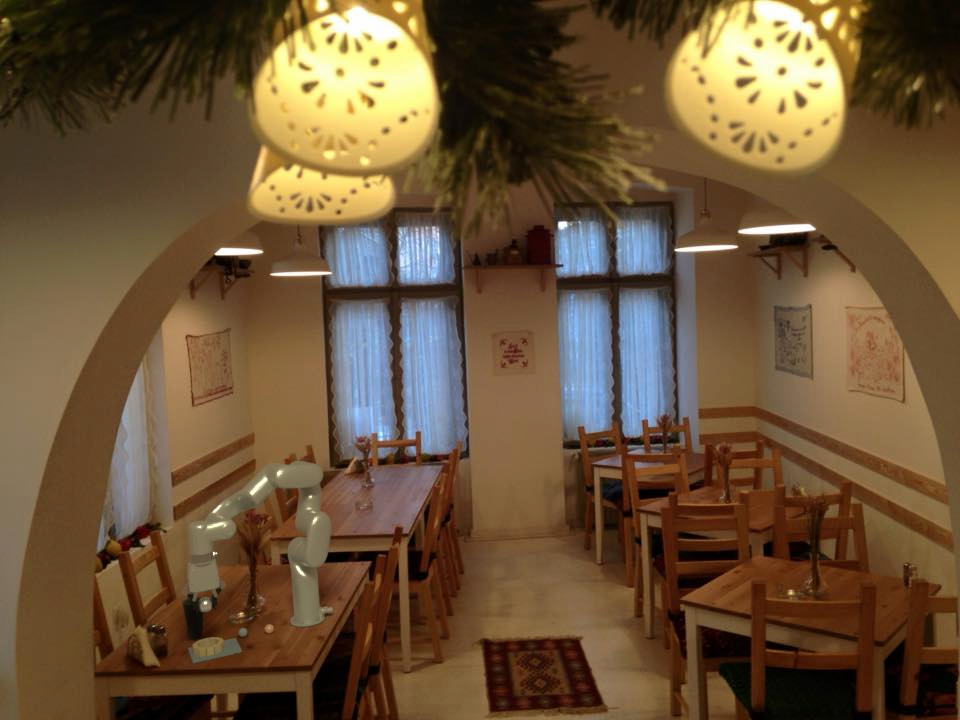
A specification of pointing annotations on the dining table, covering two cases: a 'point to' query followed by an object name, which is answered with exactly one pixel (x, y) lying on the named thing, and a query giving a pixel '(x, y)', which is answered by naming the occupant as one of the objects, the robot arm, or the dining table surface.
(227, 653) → the bearing housing
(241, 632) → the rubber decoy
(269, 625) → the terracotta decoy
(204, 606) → the steel ball
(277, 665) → the dining table surface
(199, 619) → the drinking cup
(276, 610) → the dining table surface
